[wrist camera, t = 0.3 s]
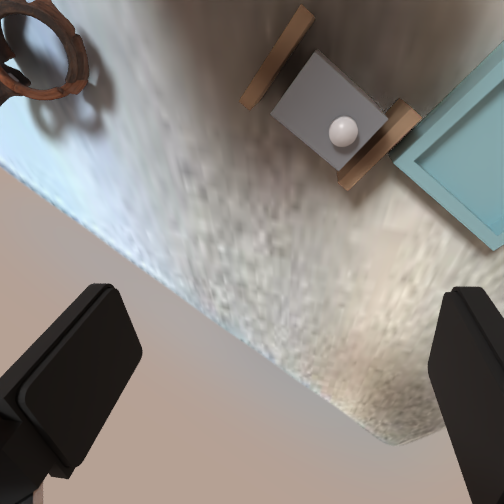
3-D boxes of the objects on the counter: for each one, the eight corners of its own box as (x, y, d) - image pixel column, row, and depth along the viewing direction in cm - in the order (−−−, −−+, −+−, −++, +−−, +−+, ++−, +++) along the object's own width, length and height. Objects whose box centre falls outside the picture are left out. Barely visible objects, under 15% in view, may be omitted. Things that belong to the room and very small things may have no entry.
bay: (304, 8, 27) (301, 3, 23) (408, 106, 30) (422, 117, 26) (249, 93, 32) (238, 101, 27) (344, 172, 34) (347, 191, 30)
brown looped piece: (12, -46, 30) (-10, -47, 24) (110, 40, 36) (111, 56, 30) (-46, 65, 33) (-77, 88, 27) (53, 126, 39) (44, 155, 33)
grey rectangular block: (316, 48, 29) (314, 52, 21) (374, 101, 30) (390, 122, 23) (281, 98, 31) (267, 116, 24) (335, 144, 33) (339, 175, 25)
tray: (509, 35, 26) (528, 34, 23) (611, 147, 29) (639, 157, 26) (387, 153, 32) (393, 163, 30) (481, 236, 35) (493, 250, 33)
